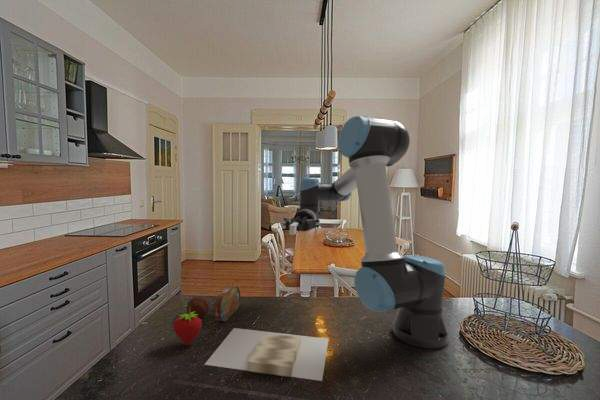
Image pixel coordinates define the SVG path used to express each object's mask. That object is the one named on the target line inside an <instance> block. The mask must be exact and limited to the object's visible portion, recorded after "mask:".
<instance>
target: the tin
mask: <svg viewBox="0 0 600 400" xmlns="http://www.w3.org/2000/svg"><path fill="white" fill-rule="evenodd" d="M240 302H241V291H240V288H239V287H238V286H237V285H235V286H234V285H229V286H228V287H226V288H225V289H224V290H223V291H222V292H220V293H219V294H218V295H217V296H216V297H215V301H214V304H213V309H214V310H213V312H214V313H213V314H214V319H215V320H216V321H218V322H227V321H228V320H230V318H231V317H232V316H233V315H234V314H235V312H236V311H237V310H238V309H239V307H240Z"/></svg>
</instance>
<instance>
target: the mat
mask: <svg viewBox="0 0 600 400" xmlns="http://www.w3.org/2000/svg"><path fill="white" fill-rule="evenodd" d="M264 333H268V334H276V335H285V336H294V337H301V346H300V349H299V352H298V355H297V358H296V361H295V365H294V368H293V371H292V374H291V377H292V378H296V379H297V378H298V379H303V380H304V379H306V380H313V381H318V382H319V381H320V382H323V376H324V371H325V366H326V365H325V364H326V358H327V353H328V345H329V339H330V338H326V337H325V338H324V337H316V336H308V335H300V334H299V335H298V334H291V333H290V334H289V333H283V332H282V333H281V332H274V331H273V332H271V331H263V330H255V329H246V328H237V327H233V329H232V330H231V331H230V332H229V333H228V335H227V336H226V338H224V340H223V341H222V342H221V344H220V345H219V346H218V347H217V348H216V349H215V351H214V352H213V353H212V354H211V356H210V357H209V358H208V359H207V360H206V362H205V363H204V365H205V366H209V367H210V366H211V367H218V368H227V369H233V370H239V371H240V370H241V371H247V372H249V371H248V361H249V359H250V357H251V355H252V354H253V352H254V350H255V349H256V347H257V345H258V344H259V342H260V340H261V338H262V337H263V335H264ZM291 377H290V378H291Z"/></svg>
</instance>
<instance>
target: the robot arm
mask: <svg viewBox="0 0 600 400" xmlns="http://www.w3.org/2000/svg"><path fill="white" fill-rule="evenodd" d="M409 134H410V133H409V131H408V130H407V128H406V127H405V125H403V124H402V123H401V122H399V121H396V120H394V119H393V120H392V119H384V118H383V119H382V118H376V117H369V116H367V115H364V116H361V115H355V116H352V117H350V118H349V119H347V121H345V122H344V124H343V126H342V128H341V131H340V133H339V136H338V141H337V142H338V150H339V153H341V155H342V156H343V157H345V158H348V166H349V169H347V170H346V171H345V172H344V173H343V174H342V175H341V176H339V177H338V178H337V179H336V180H335V181H333V182H328V183H327V182H320V179H319V178H315V177H314V178H312V177H304V178H301V180H300V184H299V211H298V212H296V213H295V214H294V215H293V217H292V218H291V219H290V218H287V217H284V218H283V226H284V228H285V230H286V231H289V235H290V236H292V235H293V236H295V235H296V234H297V233H298V232H308V231H310V230H311V231H312V230H313V229H316V228H319V227H320V214H319V202H338V203H339V202H340V203H341V202H346V201H348V200H350V197H351V195H352V192H353V191H354V190H356V189H357V194H358V195H357V197H358V202H359V212H360V217H361V221H360V222H361V226H362V236H363V243H364V250H365V254H364V256H363V257H362V258H361V259H360V264H361V266H360V268H359V269H357V271H356V273H355V275H354V288H355V291H356V294H357V296H358V298H359V300H360V301H361V302H362V304H363V305H364V306H365V307H366V308H367V309H368V310H370V311H372V312H376V313H381V312H391V311H393V310H397V309H398V310H397V312H396V314H395V317H394V320H393V322H392V333H393V334H394V336H395V337H396V339H398V340H400V341H401V342H403V343H405V344H407V345H409V346H412V347H417V348H419V349H420V348H421V349H427V350H428V349H429V350H431V349H432V350H433V349H434V350H436V349H441V348H444V347H446V346H447V345H448V343H449V331H448V326H447V324H446V319H445V317H444V311H443V310H444V297H445V281H446V280H445V279H446V267H445V264H444V263H443V262H442V261H440V260H438V259H434V258H431V257H427V256H423V255H417V254H402V253H400V252H399V251H398V246H397V245H398V244H397V239H396V238H397V237H396V231H395V223H394V217H393V210H392V202H391V195H390V189H389V181H388V174H387V168H388V167H389V168H390V167H392V166H393V165H395V164H396V163H398V162H399V161H400V160H401V159H402V158H403V157H404V156H405V155H406V153H407V152H408V150H409V147H410V142H411V141H410V135H409Z"/></svg>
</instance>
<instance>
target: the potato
mask: <svg viewBox="0 0 600 400" xmlns="http://www.w3.org/2000/svg"><path fill="white" fill-rule="evenodd" d="M209 309H210V307H209V302H208V301H207V299H206V298H205V297H202V296H199V295H198V296H197V295H196V296H194V297H191V298H190V300H189V301H188V302H187V304H186V311H187V314H189V313H191V312H194V311H195V312H194V313H193V314H198V315H196V316H197V317H199V318H200V319H201V320H202V319H203V318H205V317H206V316H207V315H208V313H209V312H208V311H209Z"/></svg>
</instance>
